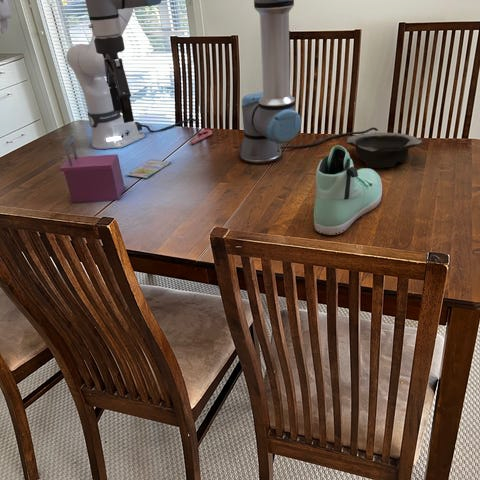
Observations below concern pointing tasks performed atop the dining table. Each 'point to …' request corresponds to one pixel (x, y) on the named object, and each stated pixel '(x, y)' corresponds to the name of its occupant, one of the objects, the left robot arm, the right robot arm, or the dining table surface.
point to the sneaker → (343, 192)
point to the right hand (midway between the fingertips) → (123, 115)
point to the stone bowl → (382, 148)
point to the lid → (86, 160)
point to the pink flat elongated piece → (202, 136)
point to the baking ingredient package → (148, 168)
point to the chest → (95, 184)
